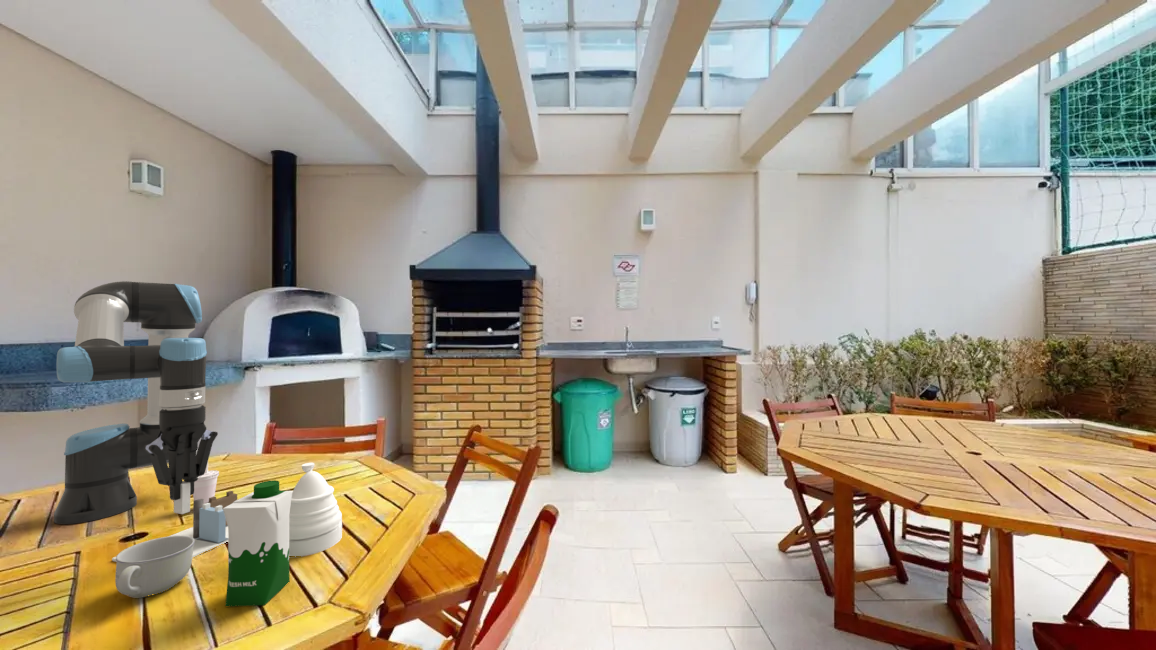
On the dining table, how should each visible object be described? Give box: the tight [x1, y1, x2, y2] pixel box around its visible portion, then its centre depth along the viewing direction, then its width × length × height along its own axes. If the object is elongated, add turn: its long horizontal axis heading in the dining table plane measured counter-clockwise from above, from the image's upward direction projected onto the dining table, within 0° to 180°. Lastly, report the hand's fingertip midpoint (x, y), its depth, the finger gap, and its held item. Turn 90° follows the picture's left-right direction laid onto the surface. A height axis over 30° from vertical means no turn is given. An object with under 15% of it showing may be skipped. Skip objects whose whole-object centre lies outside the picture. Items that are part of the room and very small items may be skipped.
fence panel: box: [199, 503, 226, 543], centre depth 99 cm, size 1×7×8 cm, turn 71°
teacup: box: [114, 535, 195, 599], centre depth 80 cm, size 14×11×8 cm
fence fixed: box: [192, 490, 238, 538], centre depth 104 cm, size 2×9×9 cm, turn 163°
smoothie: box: [192, 461, 220, 503], centre depth 119 cm, size 6×6×14 cm
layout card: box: [111, 525, 228, 563], centre depth 99 cm, size 16×21×1 cm
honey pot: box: [289, 462, 343, 558], centre depth 99 cm, size 13×13×18 cm
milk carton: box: [223, 479, 293, 607], centre depth 79 cm, size 9×9×20 cm
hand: (181, 511), depth 93 cm, fingers closed
